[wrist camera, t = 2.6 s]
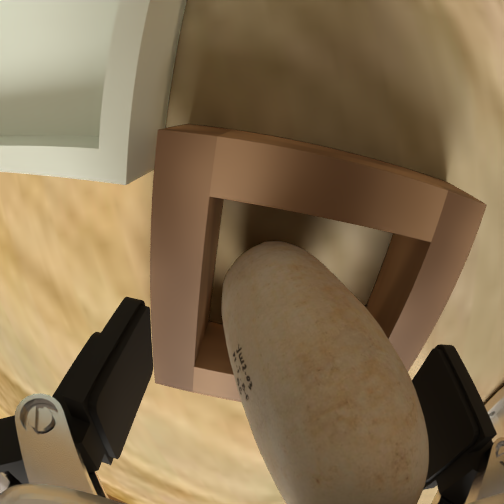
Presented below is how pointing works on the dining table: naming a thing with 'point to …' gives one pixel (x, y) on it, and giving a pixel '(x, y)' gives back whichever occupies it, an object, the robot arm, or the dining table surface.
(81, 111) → the tray
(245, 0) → the dining table surface
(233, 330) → the stone
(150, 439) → the dining table surface
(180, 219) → the pocket frame
